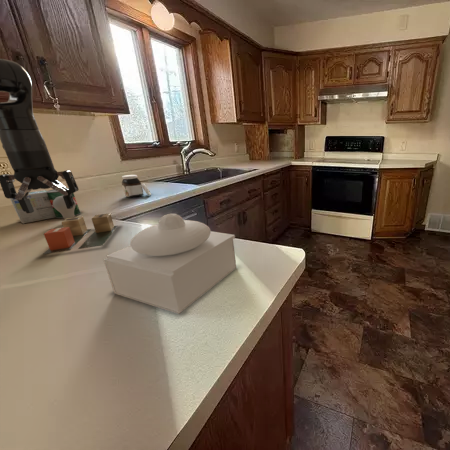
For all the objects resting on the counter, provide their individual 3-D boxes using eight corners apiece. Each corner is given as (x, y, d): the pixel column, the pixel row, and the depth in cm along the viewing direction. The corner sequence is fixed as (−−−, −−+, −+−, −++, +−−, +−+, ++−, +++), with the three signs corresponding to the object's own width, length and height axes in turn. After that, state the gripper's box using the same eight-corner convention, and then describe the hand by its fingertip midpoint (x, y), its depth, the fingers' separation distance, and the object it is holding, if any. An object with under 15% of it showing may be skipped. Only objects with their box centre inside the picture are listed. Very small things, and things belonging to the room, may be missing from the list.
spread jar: (123, 197, 135) (117, 175, 131) (144, 193, 143) (140, 173, 139) (132, 199, 128) (127, 177, 124) (154, 195, 137) (150, 174, 133)
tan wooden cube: (66, 236, 78) (61, 221, 76) (72, 232, 81) (66, 217, 80) (83, 234, 79) (78, 219, 78) (87, 230, 83) (82, 216, 81)
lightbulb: (60, 228, 89) (49, 198, 85) (61, 224, 93) (50, 195, 89) (82, 224, 92) (72, 195, 89) (82, 220, 97) (72, 193, 93)
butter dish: (114, 295, 50) (91, 222, 45) (183, 256, 66) (172, 199, 60) (179, 316, 44) (161, 234, 38) (238, 268, 60) (231, 205, 54)
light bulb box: (55, 214, 105) (46, 189, 101) (59, 216, 101) (49, 191, 98) (19, 221, 97) (7, 194, 93) (21, 224, 93) (9, 196, 90)
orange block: (50, 250, 68) (43, 233, 67) (57, 244, 72) (50, 228, 70) (69, 247, 70) (63, 231, 68) (75, 242, 74) (69, 226, 72)
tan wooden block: (95, 232, 81) (91, 218, 79) (99, 228, 84) (95, 214, 83) (111, 230, 82) (106, 216, 80) (114, 226, 86) (110, 213, 84)
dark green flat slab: (41, 259, 66) (39, 255, 65) (71, 234, 83) (70, 231, 83) (104, 249, 71) (103, 245, 71) (120, 227, 88) (119, 224, 88)
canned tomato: (51, 217, 101) (41, 191, 98) (73, 212, 108) (65, 187, 104) (63, 219, 99) (53, 192, 95) (85, 213, 105) (76, 188, 102)
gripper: (68, 147, 68) (87, 203, 73) (-3, 149, 62) (24, 210, 68) (56, 148, 61) (78, 210, 67) (-24, 151, 56) (7, 218, 62)
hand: (50, 210), depth 68 cm, fingers open, 8 cm apart
